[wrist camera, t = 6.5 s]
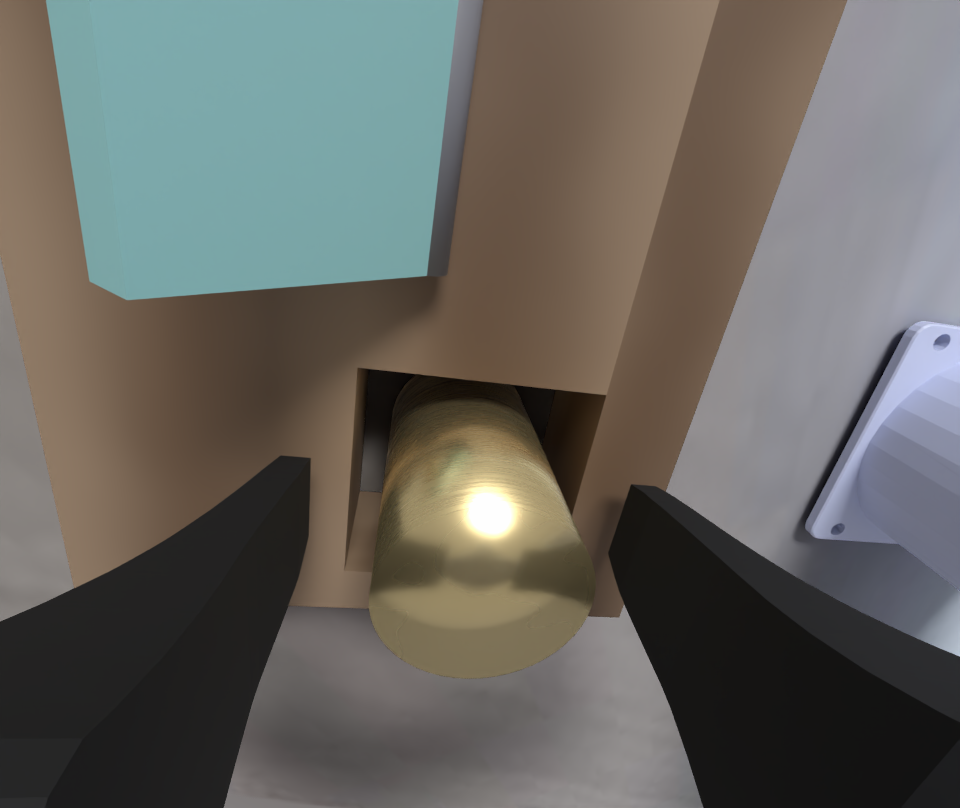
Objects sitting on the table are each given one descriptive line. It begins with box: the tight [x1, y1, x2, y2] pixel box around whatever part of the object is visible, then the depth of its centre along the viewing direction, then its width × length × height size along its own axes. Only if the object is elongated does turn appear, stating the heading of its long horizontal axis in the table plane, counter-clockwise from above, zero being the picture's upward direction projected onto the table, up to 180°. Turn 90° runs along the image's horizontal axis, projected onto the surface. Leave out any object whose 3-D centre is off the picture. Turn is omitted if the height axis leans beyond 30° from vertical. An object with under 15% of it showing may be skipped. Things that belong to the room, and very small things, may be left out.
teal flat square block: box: [46, 0, 483, 300], centre depth 6 cm, size 6×6×1 cm
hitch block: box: [0, 0, 847, 617], centre depth 12 cm, size 14×16×4 cm
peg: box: [369, 374, 596, 679], centre depth 12 cm, size 4×4×7 cm
